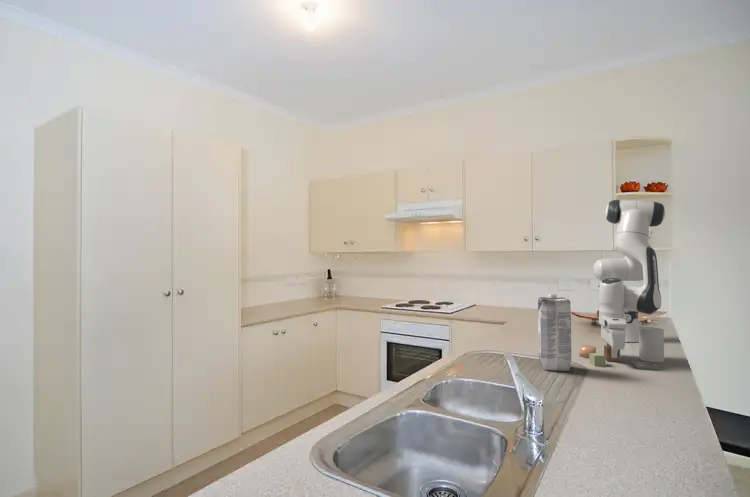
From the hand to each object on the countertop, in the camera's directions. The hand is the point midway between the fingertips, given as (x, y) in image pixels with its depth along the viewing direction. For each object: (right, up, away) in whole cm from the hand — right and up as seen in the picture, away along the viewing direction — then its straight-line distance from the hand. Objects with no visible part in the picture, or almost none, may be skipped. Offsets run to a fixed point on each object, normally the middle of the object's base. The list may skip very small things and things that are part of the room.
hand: (612, 355), depth 163 cm
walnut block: (0, -2, 0) cm, 2 cm away
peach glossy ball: (-7, -2, +6) cm, 9 cm away
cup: (+16, -2, +1) cm, 16 cm away
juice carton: (-27, -2, -10) cm, 29 cm away
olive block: (-9, -2, -6) cm, 11 cm away
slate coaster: (+7, -2, -9) cm, 12 cm away
